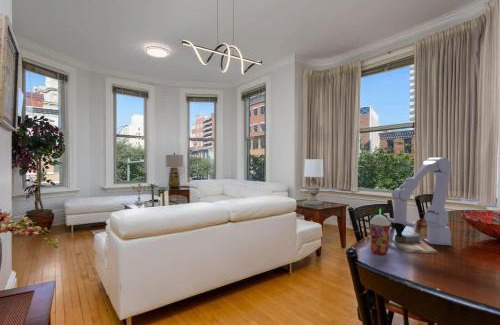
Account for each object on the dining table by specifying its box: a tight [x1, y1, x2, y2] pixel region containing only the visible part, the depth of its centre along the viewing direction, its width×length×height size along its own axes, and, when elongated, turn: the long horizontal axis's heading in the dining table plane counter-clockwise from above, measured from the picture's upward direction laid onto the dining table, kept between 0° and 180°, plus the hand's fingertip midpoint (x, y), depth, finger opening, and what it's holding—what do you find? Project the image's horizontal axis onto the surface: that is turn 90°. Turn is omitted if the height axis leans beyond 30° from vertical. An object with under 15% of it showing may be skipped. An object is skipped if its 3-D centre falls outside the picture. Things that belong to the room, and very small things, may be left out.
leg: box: [394, 233, 421, 243], centre depth 134 cm, size 12×4×3 cm, turn 98°
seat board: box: [391, 238, 438, 255], centre depth 130 cm, size 14×16×1 cm
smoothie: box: [369, 208, 391, 256], centre depth 121 cm, size 8×8×20 cm
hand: (399, 238), depth 136 cm, fingers closed, pressing on leg
